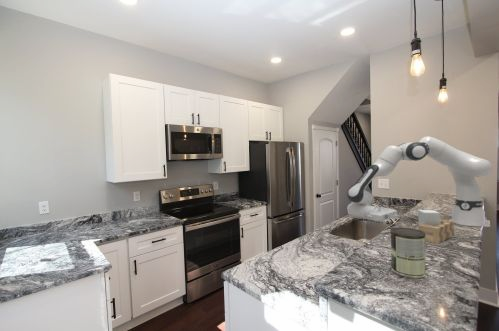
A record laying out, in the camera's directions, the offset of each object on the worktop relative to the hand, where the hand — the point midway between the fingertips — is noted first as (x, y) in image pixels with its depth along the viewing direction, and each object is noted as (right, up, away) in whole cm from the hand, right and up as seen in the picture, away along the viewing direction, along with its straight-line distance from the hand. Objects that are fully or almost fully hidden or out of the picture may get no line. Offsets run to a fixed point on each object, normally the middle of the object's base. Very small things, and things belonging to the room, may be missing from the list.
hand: (398, 217), depth 139 cm
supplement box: (+8, -7, -12) cm, 17 cm away
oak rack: (+10, -7, -15) cm, 19 cm away
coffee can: (-27, -9, -51) cm, 59 cm away
